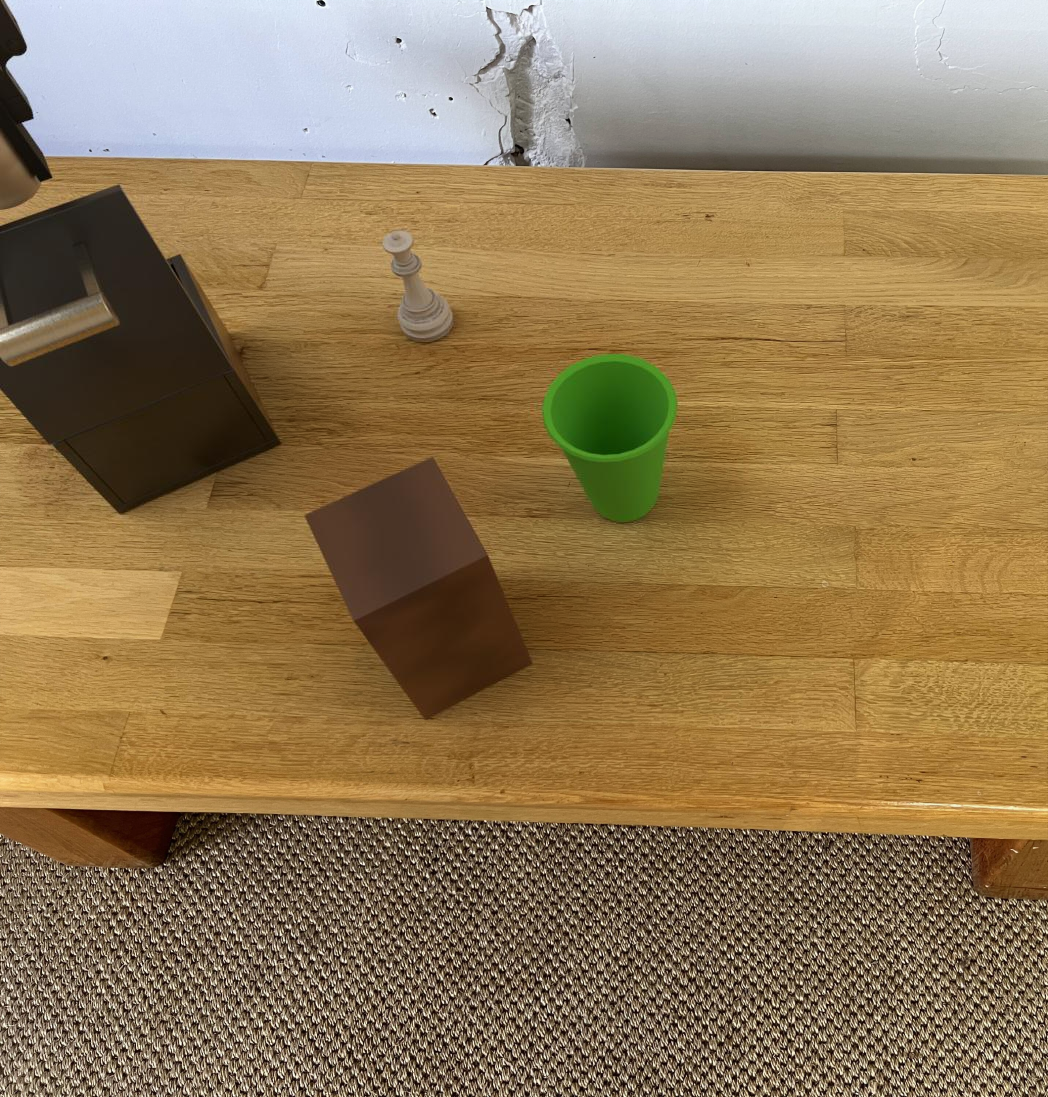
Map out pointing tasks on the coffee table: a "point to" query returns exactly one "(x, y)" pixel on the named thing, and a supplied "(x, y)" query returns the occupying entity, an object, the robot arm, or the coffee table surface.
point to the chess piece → (416, 293)
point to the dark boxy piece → (175, 428)
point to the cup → (613, 430)
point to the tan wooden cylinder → (14, 176)
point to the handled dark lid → (94, 317)
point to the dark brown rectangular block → (421, 587)
